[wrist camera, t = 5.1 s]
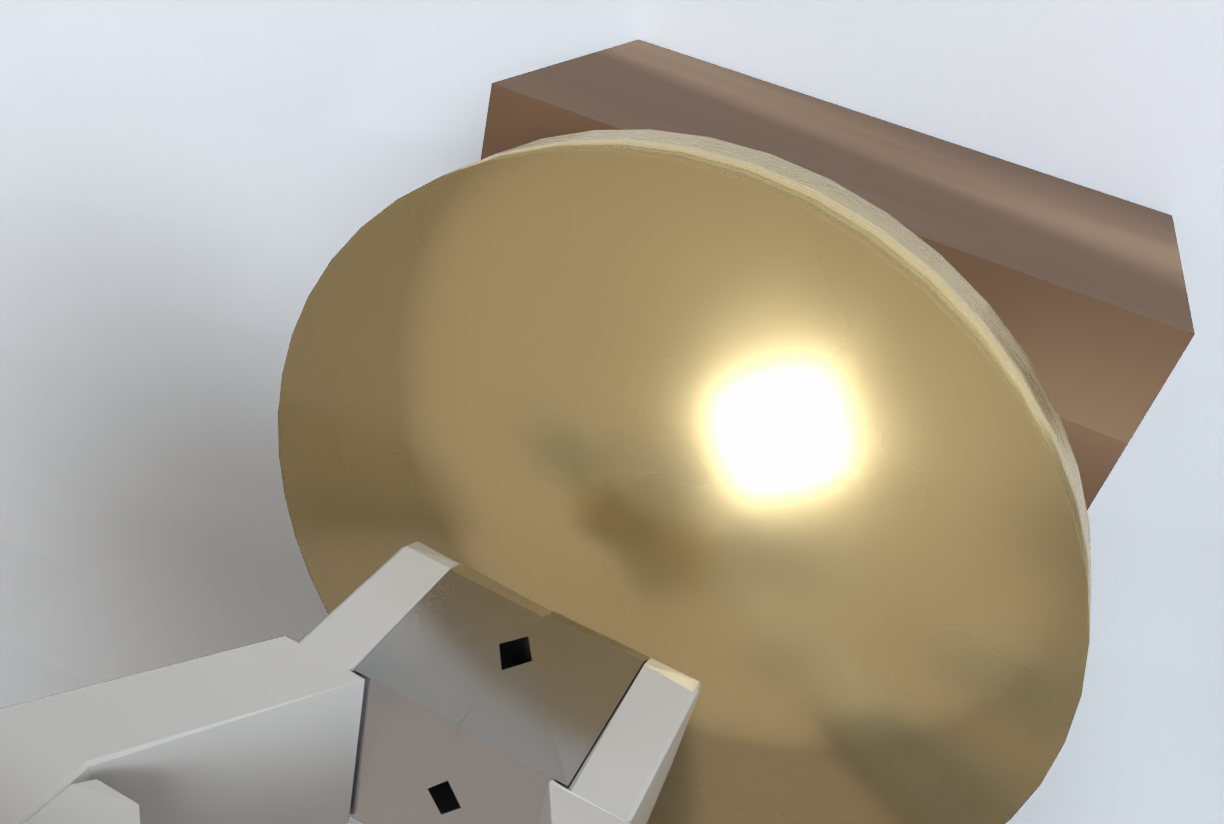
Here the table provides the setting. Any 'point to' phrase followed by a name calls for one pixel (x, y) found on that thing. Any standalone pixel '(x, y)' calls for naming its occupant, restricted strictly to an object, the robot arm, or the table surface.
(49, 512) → the table surface
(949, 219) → the housing
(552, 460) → the gold rounded dome
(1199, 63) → the table surface
